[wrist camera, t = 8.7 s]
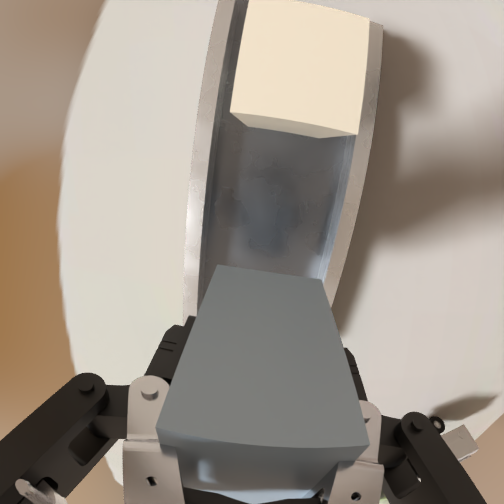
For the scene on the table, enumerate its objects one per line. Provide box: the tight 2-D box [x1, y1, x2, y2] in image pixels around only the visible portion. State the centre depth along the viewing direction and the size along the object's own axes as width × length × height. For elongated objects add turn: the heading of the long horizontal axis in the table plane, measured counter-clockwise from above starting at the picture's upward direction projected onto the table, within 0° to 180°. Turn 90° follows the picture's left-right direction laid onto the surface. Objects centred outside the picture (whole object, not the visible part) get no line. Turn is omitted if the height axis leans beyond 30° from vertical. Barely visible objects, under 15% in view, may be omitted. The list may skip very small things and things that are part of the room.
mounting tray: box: [183, 0, 383, 326], centre depth 18 cm, size 28×10×4 cm, turn 172°
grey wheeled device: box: [406, 417, 479, 480], centre depth 26 cm, size 4×10×15 cm
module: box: [155, 264, 370, 504], centre depth 9 cm, size 5×5×8 cm
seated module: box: [230, 0, 370, 138], centre depth 11 cm, size 5×5×8 cm
